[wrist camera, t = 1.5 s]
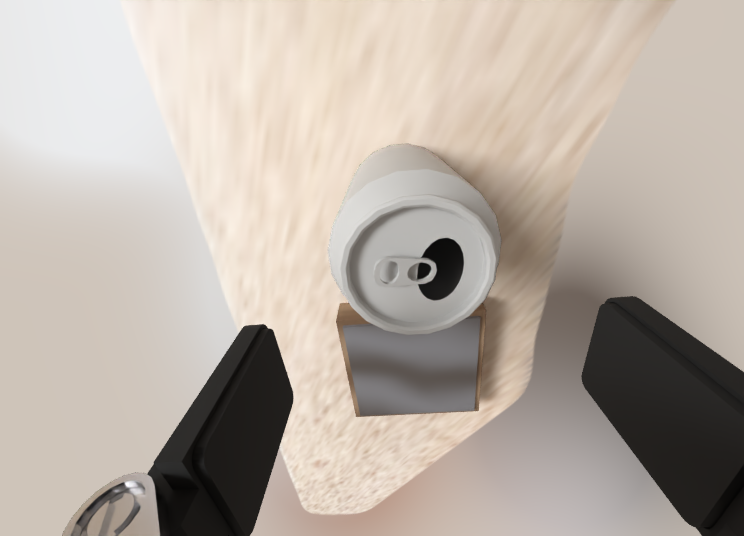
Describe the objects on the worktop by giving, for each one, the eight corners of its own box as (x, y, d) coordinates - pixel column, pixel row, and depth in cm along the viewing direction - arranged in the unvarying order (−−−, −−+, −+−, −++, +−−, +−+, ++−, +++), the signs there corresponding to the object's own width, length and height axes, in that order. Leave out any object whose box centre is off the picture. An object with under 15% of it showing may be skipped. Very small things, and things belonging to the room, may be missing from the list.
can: (441, 247, 24) (488, 356, 14) (347, 239, 24) (321, 343, 13) (461, 147, 21) (547, 187, 10) (351, 137, 21) (321, 168, 10)
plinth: (340, 300, 27) (335, 323, 24) (475, 289, 26) (487, 312, 24) (358, 392, 33) (355, 419, 30) (470, 385, 32) (479, 413, 29)
